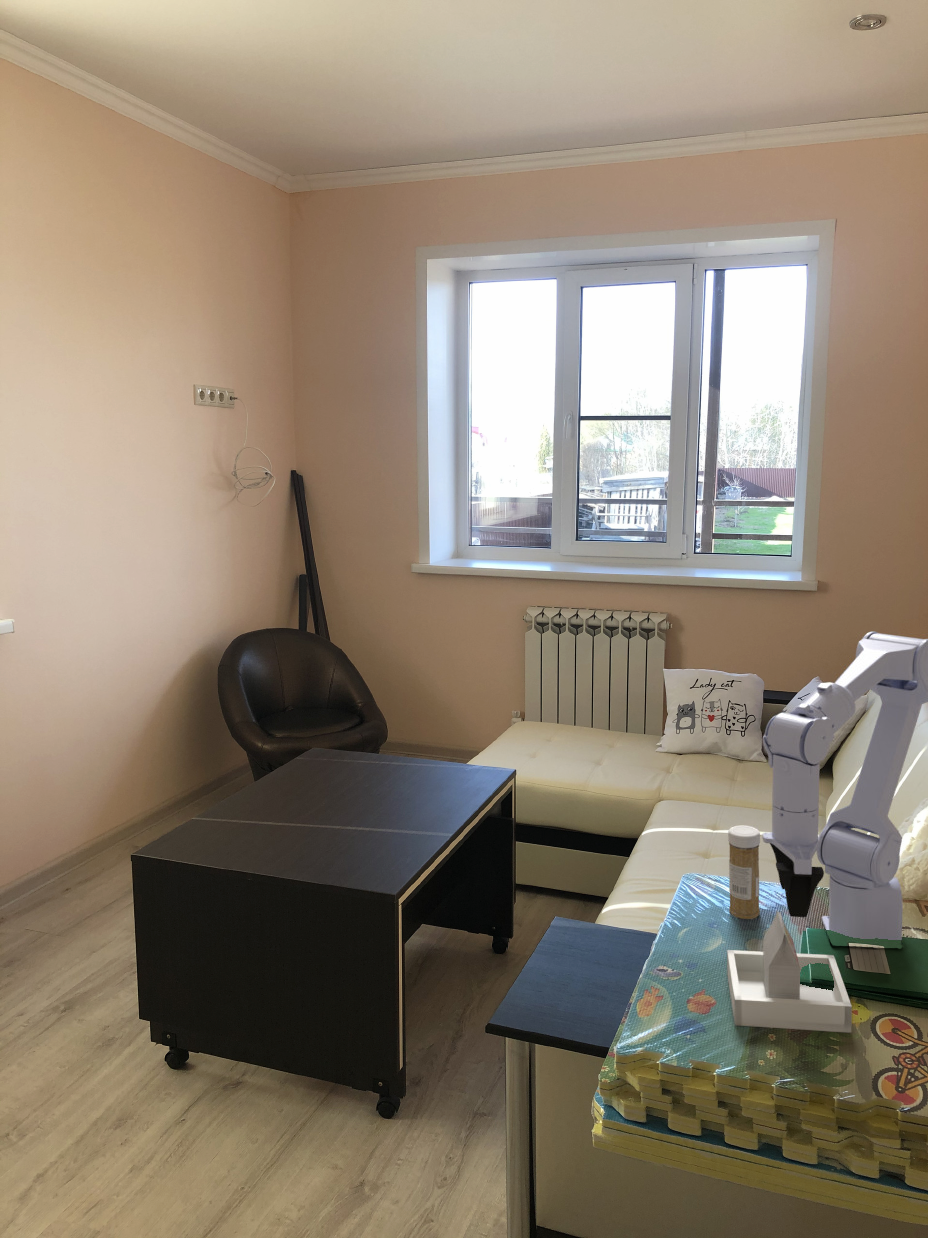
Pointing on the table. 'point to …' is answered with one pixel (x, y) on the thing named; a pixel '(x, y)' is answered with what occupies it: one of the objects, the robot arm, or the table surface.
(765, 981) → the white gable-top carton
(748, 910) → the sprinkles bottle
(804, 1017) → the bin
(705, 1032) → the table surface
